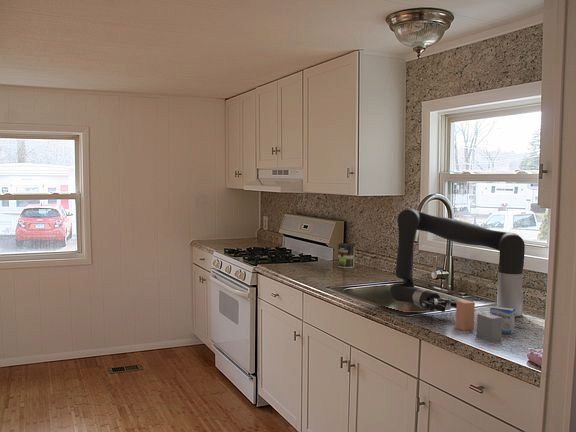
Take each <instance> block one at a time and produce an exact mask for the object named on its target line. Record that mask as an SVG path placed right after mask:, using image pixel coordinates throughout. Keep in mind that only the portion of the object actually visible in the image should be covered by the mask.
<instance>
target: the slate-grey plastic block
mask: <svg viewBox="0 0 576 432" xmlns="http://www.w3.org/2000/svg"><path fill="white" fill-rule="evenodd" d="M476 317H477V318H476V337H478V338H480V339H483V340H485V341H488V342H491V343H492V342H499V341H502V337H503V335H502V334H503V333H502V317H499V316H496V315H493V314H490V312H483V313H477V314H476Z"/></svg>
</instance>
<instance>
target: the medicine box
mask: <svg viewBox="0 0 576 432" xmlns="http://www.w3.org/2000/svg"><path fill="white" fill-rule="evenodd" d="M489 313H490V314H493V315H496V316H499V317H502V334H507V335H512V334H514V332H515V322H516V321H515V319H516V318H515V309H512V308H505V307H498V306H497V305H492V306H491V307H489Z"/></svg>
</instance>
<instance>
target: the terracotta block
mask: <svg viewBox="0 0 576 432" xmlns="http://www.w3.org/2000/svg"><path fill="white" fill-rule="evenodd" d="M475 303H476V302H475V301H471V300H469V299H462V300H458V301H457V305H456V308H455V309H456V310H455V311H456V312H455V328H456V329H458V330H462V331H471V330H475V308H476V304H475Z"/></svg>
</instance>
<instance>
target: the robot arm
mask: <svg viewBox="0 0 576 432" xmlns="http://www.w3.org/2000/svg"><path fill="white" fill-rule="evenodd" d="M397 228H398V229H397V230H398V248H397V254H396V255H397V256H396V263H395V264H396V265H395V276H396V278H398V279H402V282H403V283H402V282H401V283H400V282H399V283H394V284H392V285H391V286H390V288H389V295H390V297H391V298H392V299H393V300H394V301H398V302H404V303H408V304H409V303H410V304H412V305H414V306H417V307H419V308H421V309H424V310H427V311H430V312H434V311H439V312H441V313H445V312H446V309H447V310H450V309H456V305H457V301H459V300H458V299H453V298H450V297H449V298H444V297H441V296H440V294H439V293H437V292H435V291H431V290H428V289H424V288H419V287H417V286H415V284H414V277H413V270H414V269H413V268H414V242H415V241H414V240H415V236H416V232H417V231H423V232H426V233H430V234H433V235H435V236H437V237H440V238H442V239H444V240H447V241H451V242H454V243H459V244H463V245H468V246H469V245H470V246H480V247H486V248H491V249H493V250H496V251H498V252H499V259H498V270H497V271H498V273H497V292H496V293H497V294H496V297H497V298H496V306H498V307H505V308H512V309H515V317H520V316H522V315H523V311H524V310H523V309H524V291H523V275H524V274H523V272H524V266H525V265H524V264H525V248H526V247H525V246H526V245H525V241H524V239H523V238H522V236H520V235H519V234H518V233H515V232H511V231H510V232H508V231H500V230H493V229H489V228H486V227H483V226H481V225H478V224H475V223H472V222H467V221H465V220H460V219H455V218H449V217H444V216H436V215H431V214H429V213H426V212H422V211H421V210H416V209H414V208H410V207H409V208H405V209H402V210H401V211H399V214H398V215H397Z"/></svg>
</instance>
